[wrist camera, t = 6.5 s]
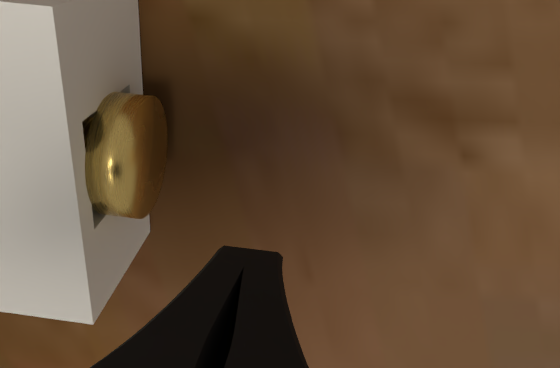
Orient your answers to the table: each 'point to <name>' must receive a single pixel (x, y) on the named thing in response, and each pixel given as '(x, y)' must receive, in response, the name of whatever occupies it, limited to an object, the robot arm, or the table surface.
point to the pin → (125, 154)
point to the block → (61, 154)
